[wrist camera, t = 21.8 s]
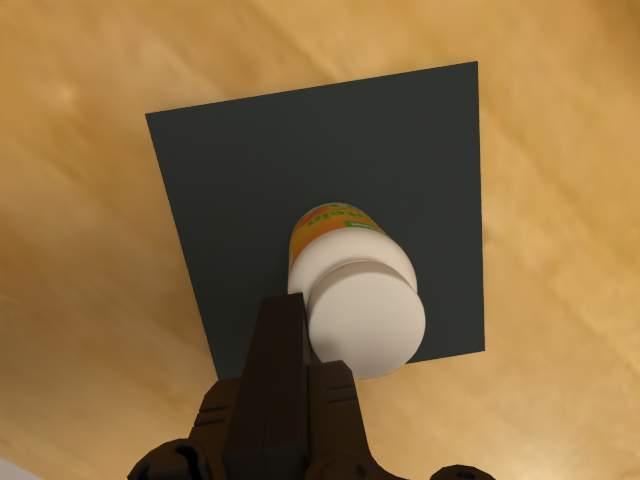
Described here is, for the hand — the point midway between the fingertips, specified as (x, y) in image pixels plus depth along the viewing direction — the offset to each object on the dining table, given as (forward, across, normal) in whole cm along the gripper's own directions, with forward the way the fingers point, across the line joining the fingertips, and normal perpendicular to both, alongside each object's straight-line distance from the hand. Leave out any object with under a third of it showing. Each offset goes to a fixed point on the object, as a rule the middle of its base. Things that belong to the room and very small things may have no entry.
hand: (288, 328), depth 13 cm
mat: (+9, +2, 0) cm, 9 cm away
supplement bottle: (+9, +2, 0) cm, 9 cm away
